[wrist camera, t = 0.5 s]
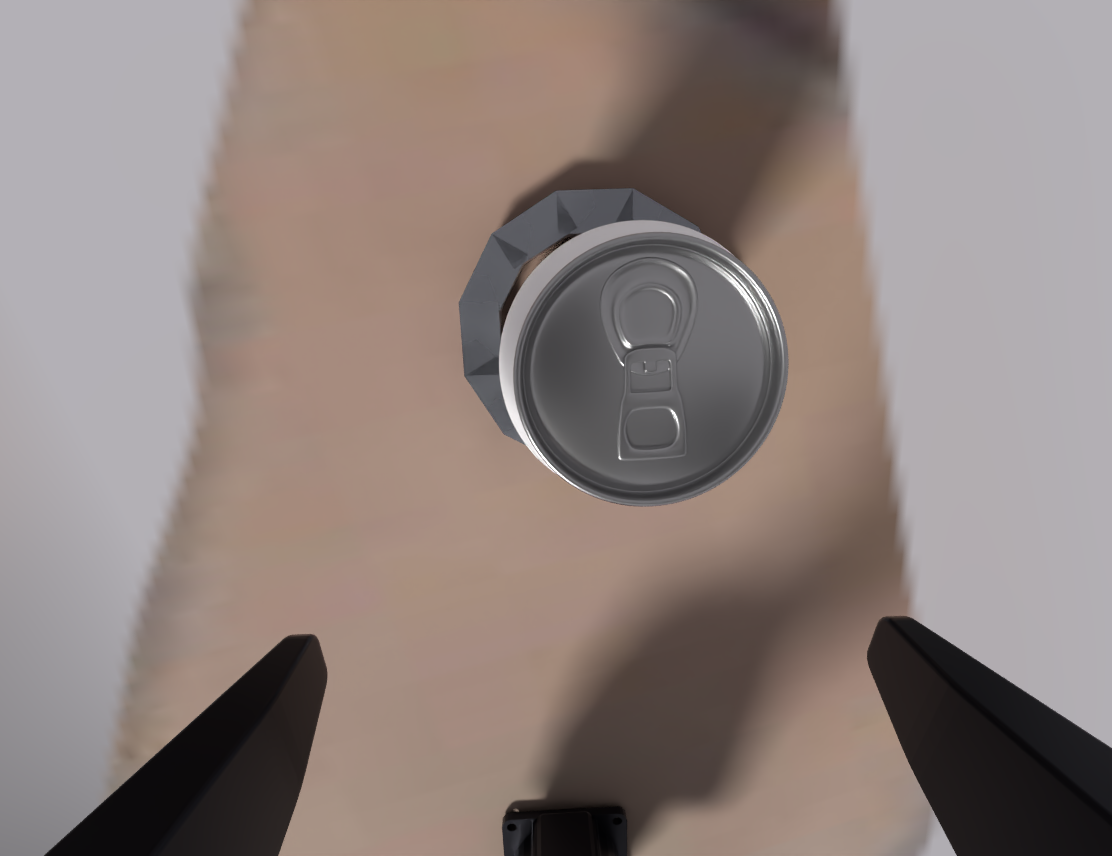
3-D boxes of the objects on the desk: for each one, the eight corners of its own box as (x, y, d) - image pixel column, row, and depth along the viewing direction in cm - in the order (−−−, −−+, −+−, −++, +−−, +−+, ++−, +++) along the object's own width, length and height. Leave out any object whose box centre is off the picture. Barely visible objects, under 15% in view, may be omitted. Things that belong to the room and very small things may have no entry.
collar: (713, 447, 24) (724, 457, 23) (475, 457, 24) (471, 468, 22) (723, 191, 21) (737, 184, 20) (456, 200, 21) (450, 194, 20)
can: (669, 245, 22) (820, 195, 10) (671, 402, 23) (802, 514, 12) (508, 255, 22) (475, 218, 10) (521, 412, 23) (506, 536, 12)
